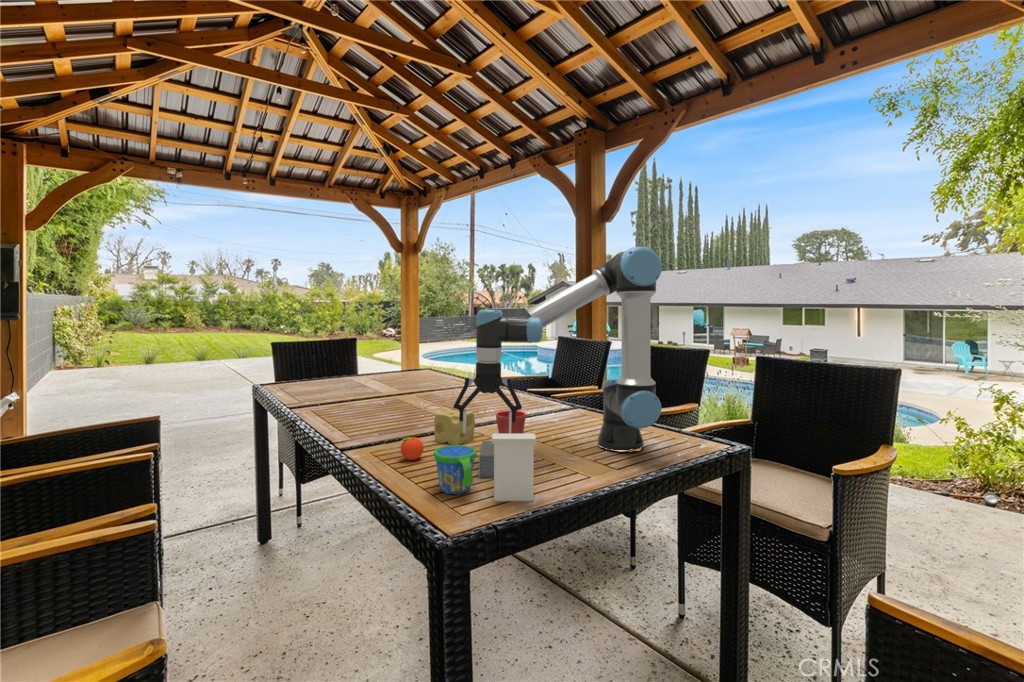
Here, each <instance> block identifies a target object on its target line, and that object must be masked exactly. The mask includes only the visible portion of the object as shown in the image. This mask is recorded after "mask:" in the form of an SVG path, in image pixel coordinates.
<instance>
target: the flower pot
mask: <svg viewBox="0 0 1024 682" xmlns="http://www.w3.org/2000/svg"><path fill="white" fill-rule="evenodd" d="M526 417H527V414H526V412H525V411H521V410H517V411H516V418H515V422H512V425H511V434H524V430H525V423H526ZM495 419H496V424H497V425H496V426H497V431H498V434H509V410H502V411H497V412H496V413H495Z"/></svg>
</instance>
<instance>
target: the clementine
mask: <svg viewBox="0 0 1024 682" xmlns="http://www.w3.org/2000/svg"><path fill="white" fill-rule="evenodd" d="M401 442H402V443H401ZM400 443H401V445H400V454H401V455H402V457H403V458H404V459H406V460H407V461H414V460H415V461H416V460H417V459H419V458H420V457H421V456H422V455H423V452H424V451H425V450H424V449H425V448H424V444H423V441H422V440H421V439H420V438H418V437H415V436H410V437H404V438H403V439H402V440H400V441H399V442H398V444H400Z"/></svg>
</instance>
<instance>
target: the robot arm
mask: <svg viewBox="0 0 1024 682" xmlns="http://www.w3.org/2000/svg"><path fill="white" fill-rule="evenodd" d="M662 272H663V264H662V259H661V257H660V256H659V254H658V253H656V251H654V250H653V249H652V248H650V247H646V246H636V247H635V246H634V247H631V248H629V249H626V250H625V251H621V252H619V253H617V254H616V255H614V256H613V257H612V258H610V259H609V260H607V262H605V263H603V264H601V265H600V266H598V267H597V268H595V269H593V271H592V274H590V275H589V276H587V277H585V278H583V279H581V280H580V281H578V282H576V283H574V284H572V285H571V286H569V287H567V288H565V289H563V290H562V291H559V292H557V293H556V294H554V295H552V296H550V297H549V298H547V299H545V300H544V301H541V302H540V303H537V304H536V305H534V306H532V307H530V308H529V309H527V310H526V311H523V312H522V313H520V314H518V315H516V316H503V311H502V310H500V309H480V310H479V311H478V312H477V314H476V325H475V326H476V332H475V333H476V335H475V336H476V338H475V339H476V340H475V341H476V343H475V344H476V345H475V360H476V363H475V377H474V378H472V377H469V376H467V377H465V379H464V385H463V387H462V389H461V391H460V393H459V395H458V397H457V398H456V400H455V402H454V404H453V406H452V407H453V409H454V410H457V411H459V412H460V414H459V420H460V421H463V433H466V412H468V411H467V410H468V409H466V408H467V406H469V404H470V403H471V402H472V401H473V400H474V398H476V396H477V395H478V394H479V393H482V394H488V393H489V394H494V393H496V394H497V395H498V396H499V398H501V400H502V401H503V402H504V403H505V404H506V406H508V408H509V409H510V410H508V411H509V434H511V425H512V422H515V418H516V411H521V410H522V408H523V407H522V404H521V402H520V399H519V397H518V395H517V393H516V391H515V389H514V387H513V385H512V378H511V377H507V378H502V363H501V361H502V344H503V343H529V344H532V343H540V342H541V341H542V338H543V329H544V328H545V327H547V326H548V325H550V324H552V323H554V322H556V321H559V320H560V319H562V318H563V317H565V316H567V315H569V314H570V313H572V312H574V311H576V310H577V309H579V308H582V307H583V306H585V305H587V304H590V302H592V301H594V300H597V299H598V298H600V297H602V296H603V295H604V296H607V297H608V296H610V295H611V294H613V293H616V295H618V297H619V298H620V299H621V376H620V377H619V379H616V378H615V379H613V378H612V379H606V380H605V381H604V382H603V388H602V391H603V398H602V399H603V404H602V405H603V407H602V411H603V415H602V416H603V418H602V421H603V422H602V425H601V428H600V431H599V434H598V436H597V446H598V445H600V446H602V447H604V448H607V449H613V450H630V449H637V448H640V447H642V446H643V447H644V439H643V436H642V433H641V430H640V429H645V428H649V427H651V426H653V425H654V424H655V423H656V422H657V421H658V420H659V418H660V415H661V413H662V403H661V401H660V398H659V397H658V396H657V395H656V391H657V387H656V383H657V382H656V381H655V380H654V379H653V378H652V377H651V332H652V331H651V329H652V328H651V326H652V325H651V319H652V318H651V312H652V311H651V309H652V308H651V299H652V297H653V296H654V295H655V294H656V293H657V281H658V279H659V278H660V277H661V274H662ZM473 383H474V385H475V386H476V388H475V389H474V390H473V392H472V393H471V394H470V395H469V396H468V398H466V400H464V401H463V403H462V404H460V403H461V401H462V399H463V398H464V396H465V393H466V392H467V390H468V388H469V386H471V385H472V384H473ZM503 384H504V385H505V386H506V387H507V389H508V390H509V393H510V394H511V395H510V396H511V397H512V399H513V401H514V404H513V403H512V402H511V400H510V399H509V397H508V396H507V395H506V394H505V392H503V389H501V386H502V385H503Z"/></svg>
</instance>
